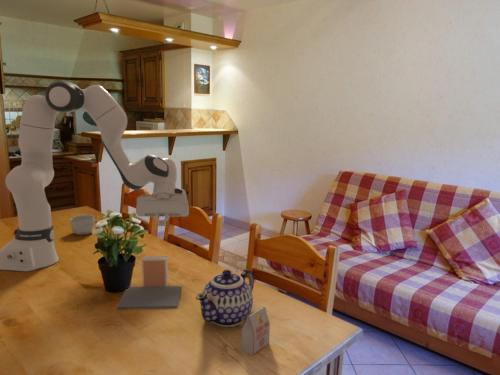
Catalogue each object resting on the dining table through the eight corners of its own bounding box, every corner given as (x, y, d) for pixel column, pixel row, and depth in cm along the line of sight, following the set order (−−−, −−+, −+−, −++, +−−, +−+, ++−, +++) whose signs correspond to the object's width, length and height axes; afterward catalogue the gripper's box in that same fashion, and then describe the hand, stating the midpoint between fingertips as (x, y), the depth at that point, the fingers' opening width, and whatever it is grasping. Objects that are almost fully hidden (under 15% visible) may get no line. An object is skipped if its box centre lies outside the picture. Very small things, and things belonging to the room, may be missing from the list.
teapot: (235, 296, 130) (236, 253, 127) (272, 311, 121) (274, 265, 118) (176, 325, 111) (176, 276, 108) (215, 346, 101) (216, 292, 99)
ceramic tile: (142, 287, 134) (141, 259, 132) (144, 283, 137) (143, 256, 135) (166, 287, 135) (166, 259, 133) (167, 283, 138) (167, 256, 136)
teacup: (89, 236, 185) (88, 220, 183) (66, 236, 185) (65, 219, 183) (100, 228, 199) (100, 212, 197) (79, 227, 199) (78, 212, 197)
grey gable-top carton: (241, 350, 100) (242, 313, 98) (258, 339, 105) (259, 304, 103) (252, 356, 98) (253, 319, 96) (269, 344, 103) (270, 309, 101)
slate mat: (117, 308, 119) (116, 307, 119) (127, 288, 133) (127, 286, 133) (177, 307, 121) (177, 306, 120) (181, 287, 134) (181, 286, 134)
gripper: (136, 190, 154) (132, 221, 146) (189, 190, 156) (187, 221, 148) (138, 198, 159) (134, 229, 151) (189, 199, 161) (188, 229, 153)
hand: (161, 225), depth 150 cm, fingers closed
